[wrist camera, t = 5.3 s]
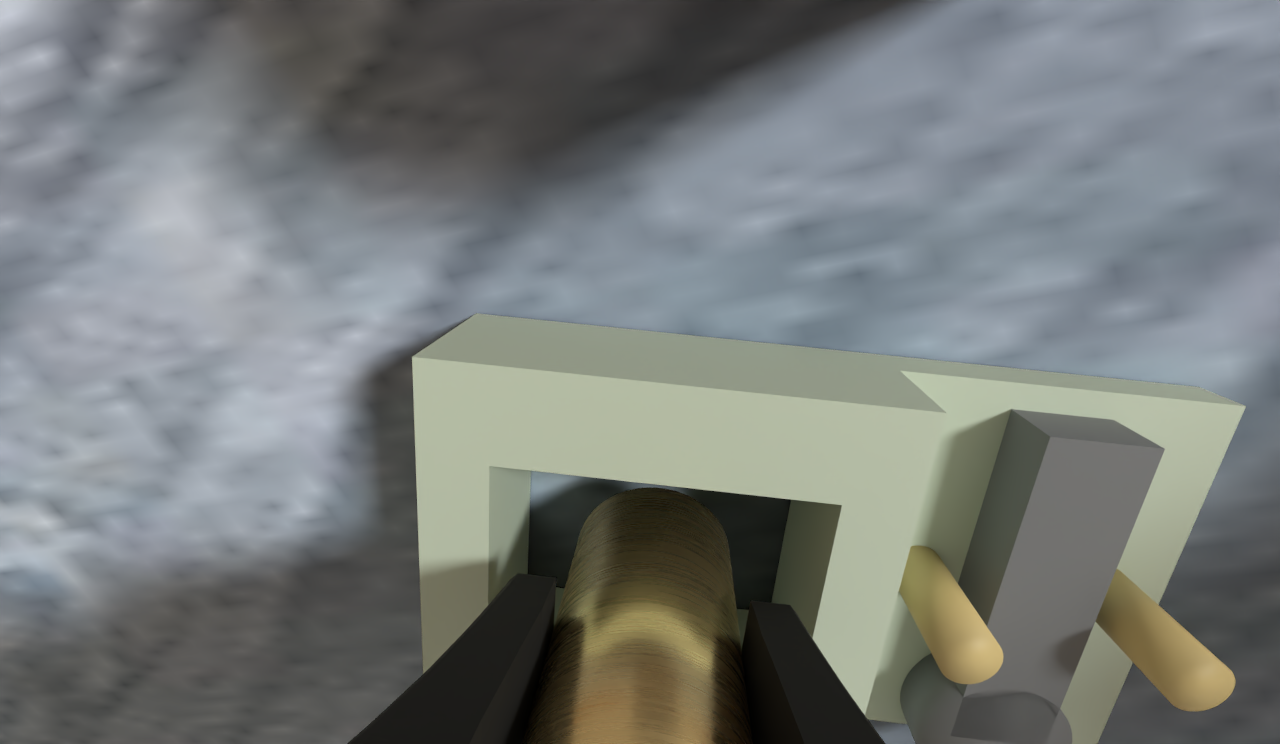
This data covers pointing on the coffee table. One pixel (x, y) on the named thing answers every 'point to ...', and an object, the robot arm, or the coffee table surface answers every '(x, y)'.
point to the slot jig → (854, 506)
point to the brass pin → (645, 632)
